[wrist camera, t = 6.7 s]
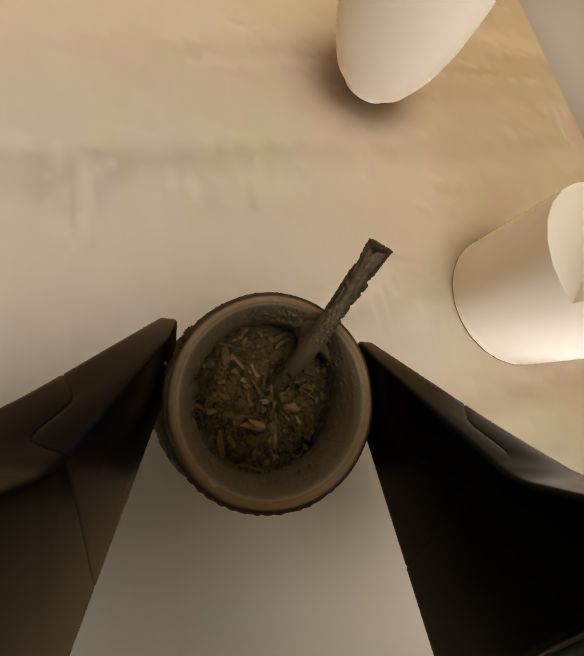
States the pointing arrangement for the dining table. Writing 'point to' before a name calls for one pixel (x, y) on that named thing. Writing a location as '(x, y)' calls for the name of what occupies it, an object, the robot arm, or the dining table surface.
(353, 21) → the bulb air blower
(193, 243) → the dining table surface
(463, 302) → the base with upright slab
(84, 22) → the dining table surface
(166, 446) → the mate gourd
